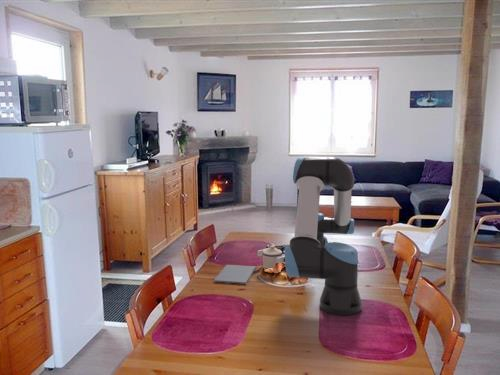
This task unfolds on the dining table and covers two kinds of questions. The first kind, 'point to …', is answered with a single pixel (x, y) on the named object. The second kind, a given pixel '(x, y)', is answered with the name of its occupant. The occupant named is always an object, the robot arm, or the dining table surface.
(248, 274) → the serving board
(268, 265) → the teacup with lid
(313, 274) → the robot arm
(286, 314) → the dining table surface
